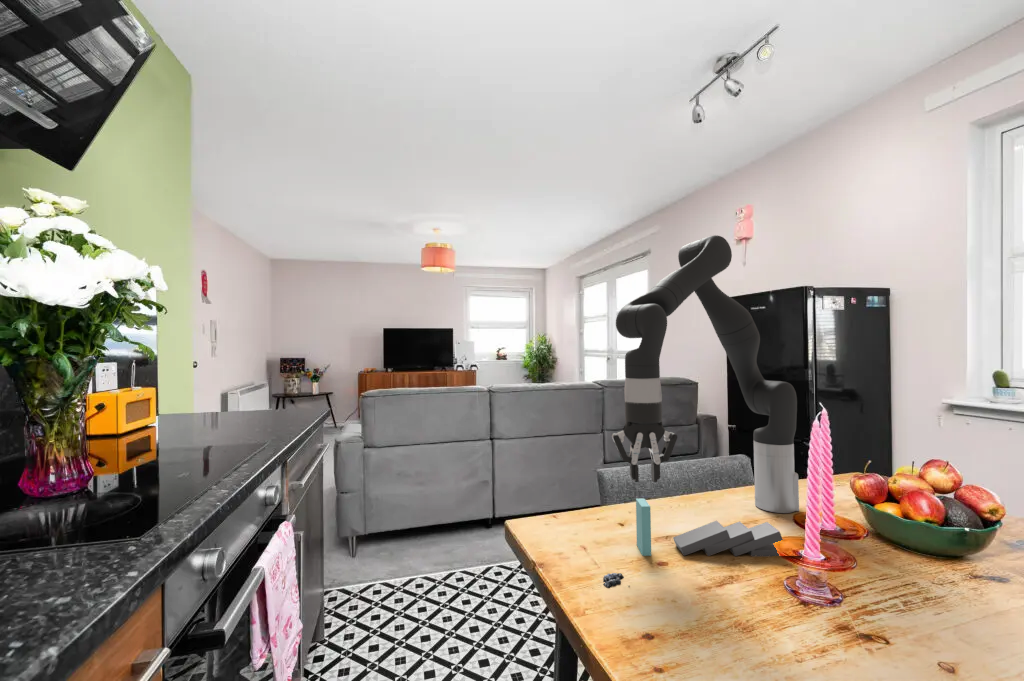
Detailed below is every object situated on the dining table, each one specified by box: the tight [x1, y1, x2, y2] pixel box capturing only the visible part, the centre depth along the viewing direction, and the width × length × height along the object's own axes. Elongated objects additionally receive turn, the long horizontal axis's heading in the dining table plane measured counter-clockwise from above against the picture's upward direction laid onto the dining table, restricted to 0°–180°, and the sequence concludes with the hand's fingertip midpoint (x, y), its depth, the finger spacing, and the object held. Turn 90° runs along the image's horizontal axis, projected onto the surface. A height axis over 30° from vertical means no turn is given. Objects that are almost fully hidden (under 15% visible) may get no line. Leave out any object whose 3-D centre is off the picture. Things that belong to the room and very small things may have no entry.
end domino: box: [635, 498, 652, 557], centre depth 96 cm, size 2×5×10 cm, turn 178°
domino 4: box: [746, 543, 779, 557], centre depth 95 cm, size 2×5×10 cm
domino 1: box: [672, 520, 730, 556], centre depth 96 cm, size 2×5×10 cm
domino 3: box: [728, 521, 784, 557], centre depth 95 cm, size 2×5×10 cm
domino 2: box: [701, 520, 754, 557], centre depth 96 cm, size 2×5×10 cm
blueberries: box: [602, 572, 629, 589], centre depth 84 cm, size 7×8×2 cm
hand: (645, 480), depth 97 cm, fingers open, 3 cm apart
